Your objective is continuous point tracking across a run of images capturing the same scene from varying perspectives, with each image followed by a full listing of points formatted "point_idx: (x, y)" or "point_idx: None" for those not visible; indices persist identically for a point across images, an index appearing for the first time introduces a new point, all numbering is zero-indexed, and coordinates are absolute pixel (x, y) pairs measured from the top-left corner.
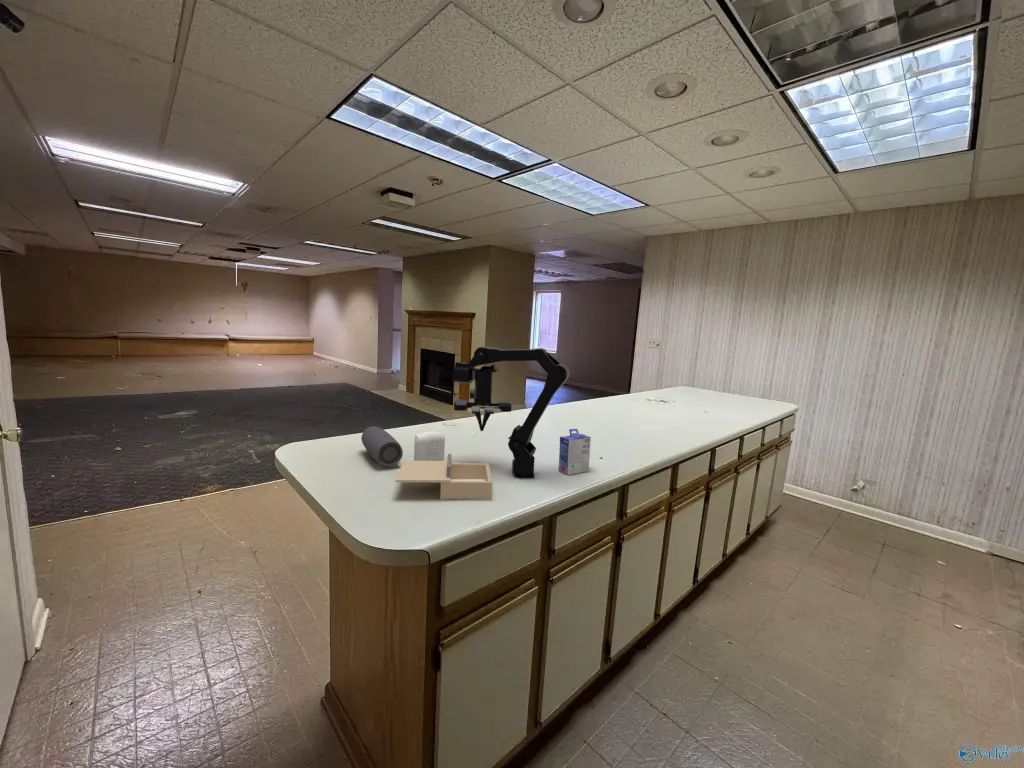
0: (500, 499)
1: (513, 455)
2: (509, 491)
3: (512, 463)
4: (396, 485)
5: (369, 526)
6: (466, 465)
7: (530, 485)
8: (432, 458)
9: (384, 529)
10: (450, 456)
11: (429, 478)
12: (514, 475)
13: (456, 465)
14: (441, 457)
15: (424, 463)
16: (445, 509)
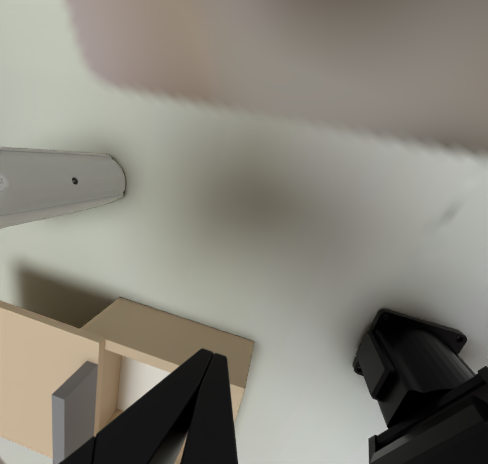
0: (242, 458)
1: (369, 454)
2: (284, 434)
3: (376, 361)
4: (11, 303)
5: (8, 443)
6: (160, 365)
7: (370, 428)
8: (49, 217)
9: (30, 459)
10: (61, 424)
11: (41, 445)
12: (357, 359)
13: (125, 352)
14: (84, 207)
15: (12, 336)
16: None
